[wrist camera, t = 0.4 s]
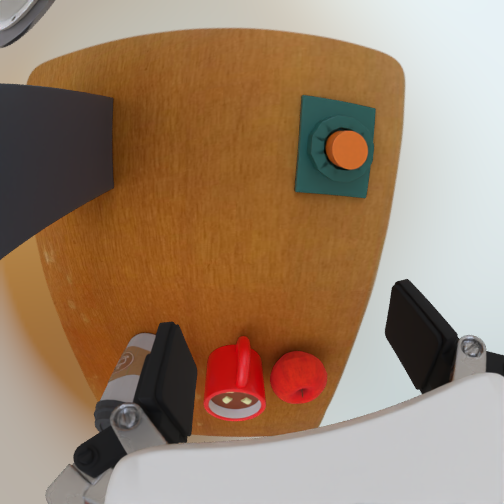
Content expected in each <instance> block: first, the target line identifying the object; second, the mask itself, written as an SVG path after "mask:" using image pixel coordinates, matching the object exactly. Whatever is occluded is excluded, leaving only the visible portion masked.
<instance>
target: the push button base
mask: <svg viewBox="0 0 504 504" xmlns="http://www.w3.org/2000/svg"><path fill="white" fill-rule="evenodd" d="M375 110H376V109H375V108H370V107H366V106H362V105H357V104H353V103H348V102H343V101H337V100H332V99H326V98H320V97H313V96H306V95H302V96H301V112H300V128H299V142H298V155H297V167H296V179H295V192H304V193H317V194H329V195H340V196H350V197H359V198H366V195H367V188H368V181H369V174H370V166H371V164H372V161H373V152H374V144H373V137H374V125H375ZM337 131H354V132H356V133H358V134H360V135H361V136H362V137H363V138H364V140H365V141H366V143H367V147H368V155H367V158H366V161H365V162H364V163H363V165H362V166H360V167H359V168H357V169H352V170H349V169H345V168H342V167H339V166H337V165H335V164H333V163H332V162H331V161H330V160H329V158H328V157H327V154H326V142H327V140H328V138H329V137H330V135H332V134H333V133H335V132H337Z"/></svg>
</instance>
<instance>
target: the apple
mask: <svg viewBox="0 0 504 504" xmlns="http://www.w3.org/2000/svg"><path fill="white" fill-rule="evenodd" d="M270 382H271V387H272V389H273V391H274V393H275V394H276V395H277V396H278V397H279V398H280V399H282V400H283V401H285V402H287V403H293V404H298V403H307V402H310V401H312V400H314V399H315V398H317V397H318V396H319V395H320V393H321V392H322V391H323V390H324V388H325V386H326V384H327V373H326V370H325V368H324V366H323V364H322V362H321V361H320V360H319V359H318V358H316V357H315V356H313V355H312V354H309V353H306V352H302V351H293V352H289V353H286V354H284V355H283V356H282V357H281V358H280V359H279V360H278V361H277V362H276V363H275V365H274V367H273V369H272V372H271V375H270Z"/></svg>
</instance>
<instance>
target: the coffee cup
mask: <svg viewBox="0 0 504 504" xmlns="http://www.w3.org/2000/svg"><path fill="white" fill-rule="evenodd" d="M155 336H156V335H153V334H149V333H141V334H138V335H136V336H134V337H133V338H132V339H131V340H130V342H129V344H128V346H127V348H126V349H125V350H124V352H123V354H122V356H121V358H120V360H119V362H118V364H117V365H116V367H115V369H114V371H113V373H112V375H111V377H110V379H109V381H108V385H107V387H106V389H105V391H104V393H103V396H102V398H101V400H100V401H99V402H98V403H97V404H96V410H95V412H94V416H95V427H96V428H97V429H98V431H99V432H101V431H103V430H104V429H106V428H107V427H109V426H110V425H111V423H110V416H111V414H112V412H113V410H114V409H115V408H116V407H117V406H119V405H121V404H123V403H127V402H133V398H134V395H135V391H136V388H137V384H138V381H139V377H140V374H141V370H142V367H143V364H144V360H145V357H146V355H147V354H150V353H151V349H152V346H153V343H154V340H155Z"/></svg>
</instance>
